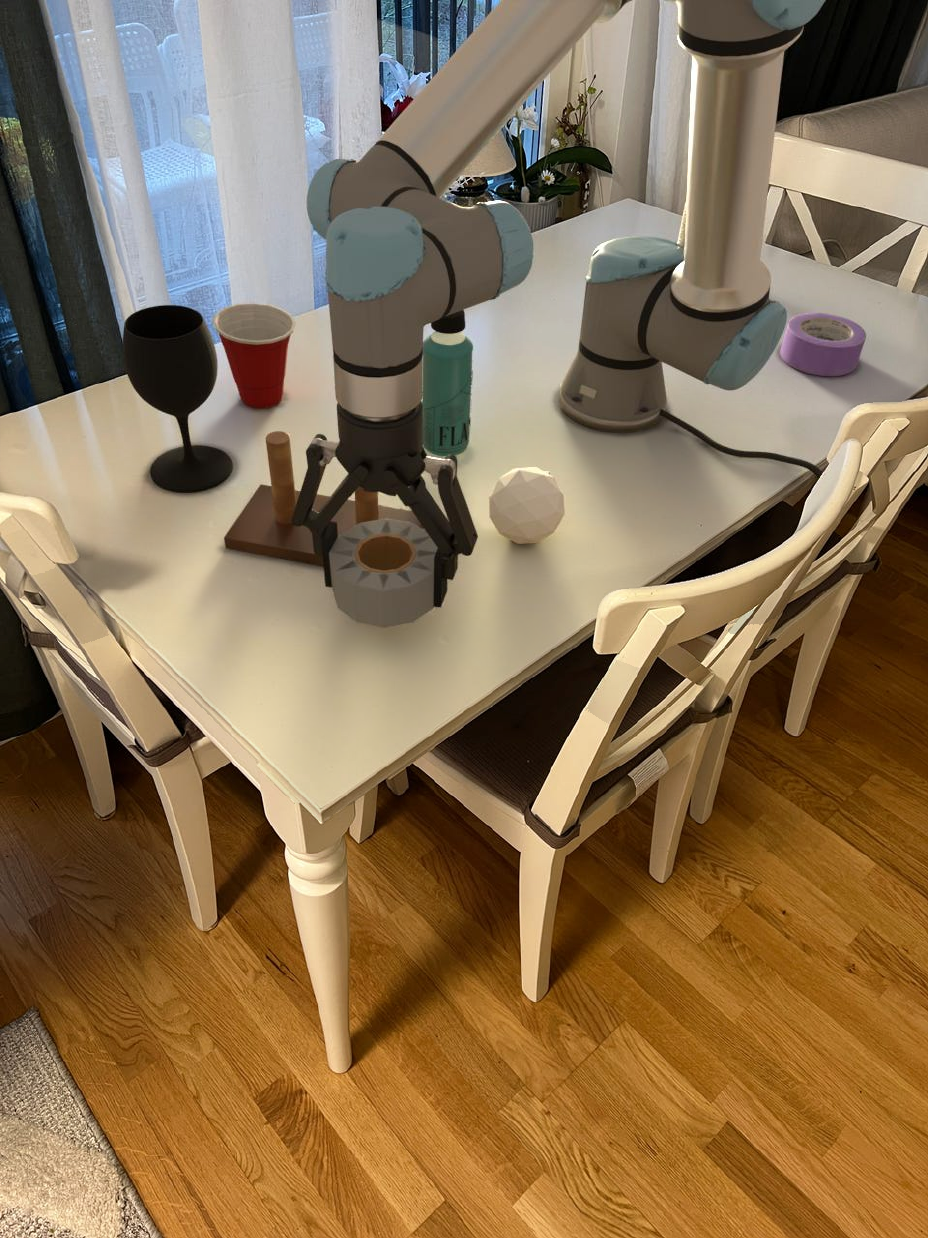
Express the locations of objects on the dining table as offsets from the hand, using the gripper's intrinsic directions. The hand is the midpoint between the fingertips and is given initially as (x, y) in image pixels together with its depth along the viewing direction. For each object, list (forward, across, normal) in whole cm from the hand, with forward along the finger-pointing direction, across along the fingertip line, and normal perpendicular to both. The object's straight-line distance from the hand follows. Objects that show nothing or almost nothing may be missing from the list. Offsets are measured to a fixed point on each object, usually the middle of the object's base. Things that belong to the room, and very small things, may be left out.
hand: (386, 588), depth 97 cm
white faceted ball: (+6, -12, -21) cm, 24 cm away
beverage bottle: (+6, +2, -34) cm, 34 cm away
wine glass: (+5, +32, -21) cm, 39 cm away
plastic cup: (+6, +30, -40) cm, 50 cm away
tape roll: (+6, -48, -77) cm, 91 cm away
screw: (+7, -24, -110) cm, 112 cm away
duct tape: (0, 0, 0) cm, 0 cm away
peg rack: (+5, +11, -13) cm, 18 cm away
